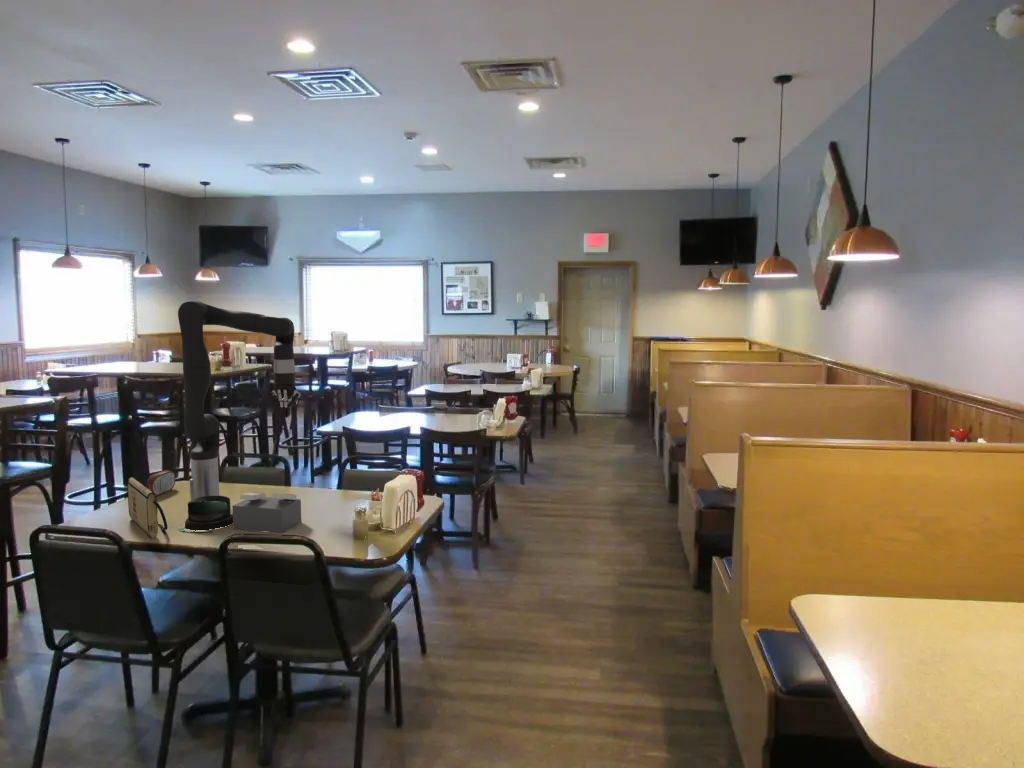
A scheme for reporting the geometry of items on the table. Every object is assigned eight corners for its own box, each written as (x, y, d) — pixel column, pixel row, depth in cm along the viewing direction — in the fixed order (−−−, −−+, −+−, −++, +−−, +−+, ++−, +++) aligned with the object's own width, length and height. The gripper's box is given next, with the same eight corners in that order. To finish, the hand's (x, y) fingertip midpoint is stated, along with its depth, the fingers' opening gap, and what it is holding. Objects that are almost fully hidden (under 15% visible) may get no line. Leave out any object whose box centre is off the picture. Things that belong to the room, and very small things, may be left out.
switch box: (254, 518, 241) (253, 494, 240) (301, 522, 237) (300, 497, 236) (233, 529, 229) (232, 503, 228) (282, 533, 225) (281, 507, 224)
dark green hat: (233, 512, 248) (232, 487, 247) (248, 526, 232) (247, 500, 231) (173, 522, 237) (171, 495, 236) (183, 538, 221) (182, 509, 220)
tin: (170, 488, 280) (169, 467, 279) (177, 488, 280) (176, 468, 279) (145, 498, 266) (144, 476, 265) (153, 498, 265) (152, 477, 264)
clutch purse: (173, 535, 223) (171, 490, 221) (150, 540, 218) (147, 494, 216) (149, 514, 245) (147, 473, 243) (127, 518, 240) (124, 476, 239)
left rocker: (254, 496, 237) (254, 491, 237) (265, 497, 236) (266, 492, 236) (240, 499, 229) (240, 493, 229) (252, 500, 228) (252, 494, 228)
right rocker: (283, 499, 236) (284, 493, 236) (295, 499, 235) (296, 494, 235) (271, 497, 228) (272, 492, 229) (283, 498, 227) (284, 493, 228)
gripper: (262, 371, 256) (264, 418, 258) (295, 372, 253) (296, 419, 255) (273, 370, 263) (275, 415, 265) (305, 370, 260) (306, 416, 262)
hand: (285, 417), depth 260 cm, fingers closed
